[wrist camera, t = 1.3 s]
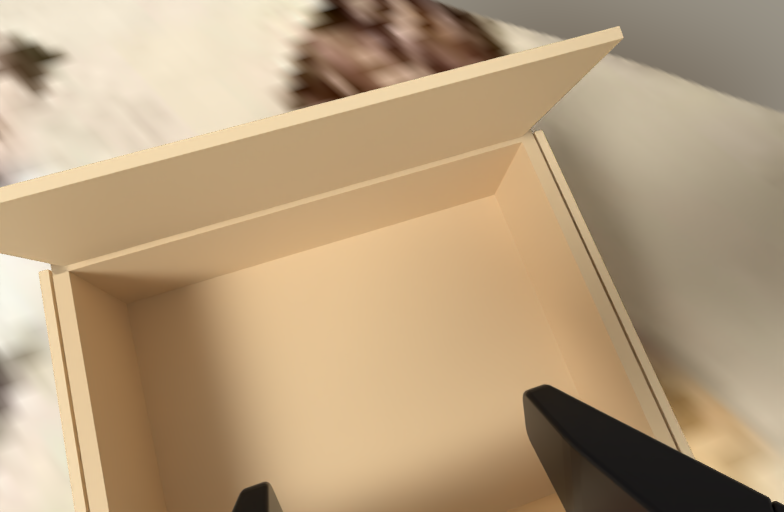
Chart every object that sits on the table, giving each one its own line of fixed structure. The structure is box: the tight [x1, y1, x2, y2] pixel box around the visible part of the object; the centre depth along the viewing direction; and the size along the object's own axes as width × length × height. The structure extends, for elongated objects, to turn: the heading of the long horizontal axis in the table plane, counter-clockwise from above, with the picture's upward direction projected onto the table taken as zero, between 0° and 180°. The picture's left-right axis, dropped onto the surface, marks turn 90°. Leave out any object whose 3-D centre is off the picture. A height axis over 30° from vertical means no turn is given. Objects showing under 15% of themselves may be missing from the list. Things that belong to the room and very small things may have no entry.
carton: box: [39, 129, 695, 512], centre depth 20 cm, size 14×18×5 cm
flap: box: [0, 26, 623, 266], centre depth 15 cm, size 1×16×7 cm, turn 109°
